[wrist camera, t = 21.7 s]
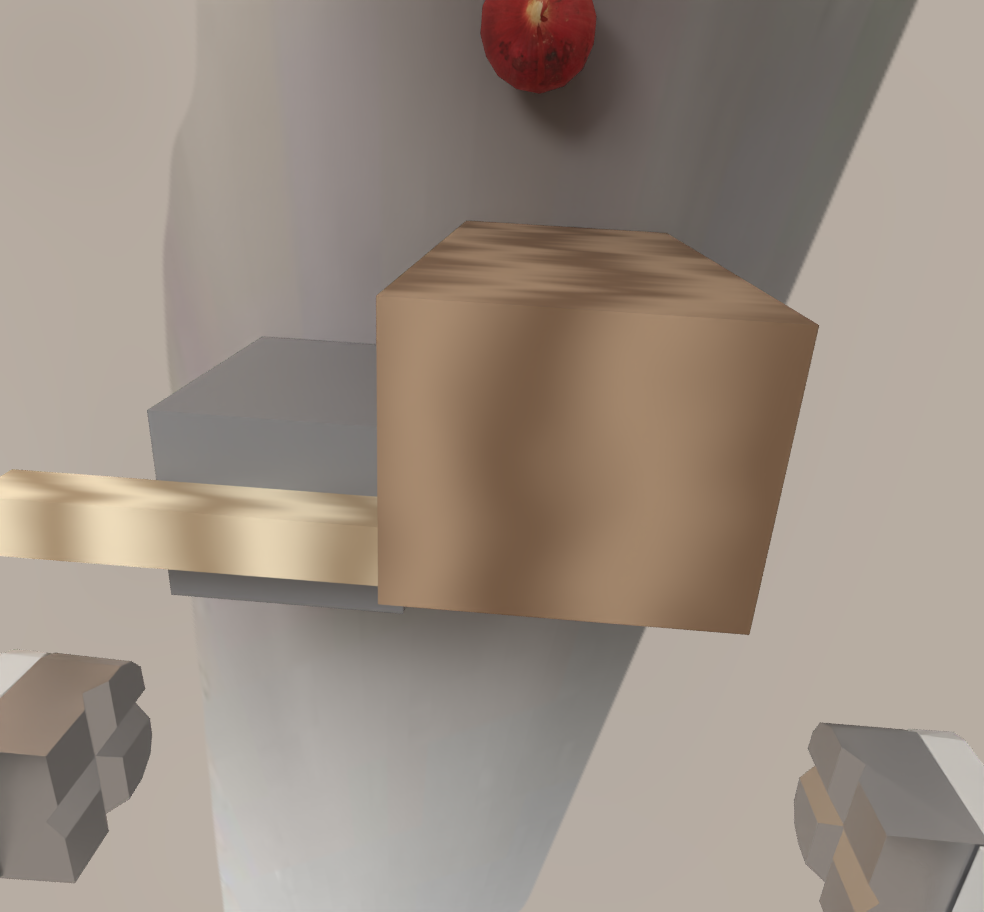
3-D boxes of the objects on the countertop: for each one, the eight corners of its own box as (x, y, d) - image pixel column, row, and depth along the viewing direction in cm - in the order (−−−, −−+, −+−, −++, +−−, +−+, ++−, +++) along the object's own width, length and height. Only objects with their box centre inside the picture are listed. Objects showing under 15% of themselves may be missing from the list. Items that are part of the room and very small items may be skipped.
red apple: (602, 78, 41) (615, 61, 33) (503, 111, 42) (494, 101, 34) (577, -39, 39) (585, -85, 31) (473, -2, 40) (457, -39, 32)
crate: (271, 476, 51) (171, 594, 38) (261, 336, 48) (147, 410, 34) (440, 489, 51) (403, 613, 37) (445, 349, 47) (404, 428, 33)
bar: (24, 524, 37) (-19, 554, 34) (12, 469, 35) (-33, 495, 33) (421, 555, 36) (411, 588, 33) (422, 500, 35) (412, 529, 32)
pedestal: (460, 380, 48) (378, 603, 24) (466, 220, 44) (376, 295, 20) (644, 393, 47) (749, 634, 23) (666, 233, 44) (818, 325, 20)
